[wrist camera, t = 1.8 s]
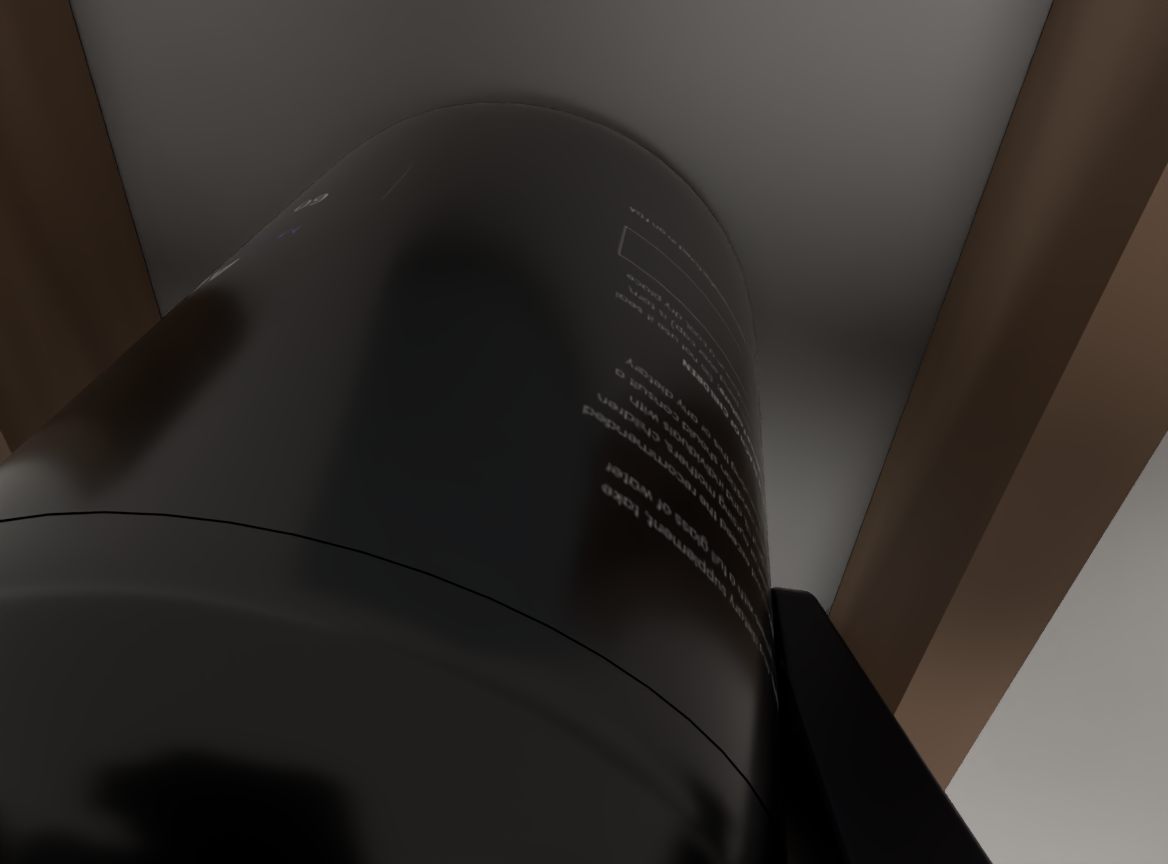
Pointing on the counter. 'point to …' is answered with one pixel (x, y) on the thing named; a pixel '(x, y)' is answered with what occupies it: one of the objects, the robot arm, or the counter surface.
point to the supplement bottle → (411, 534)
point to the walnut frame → (938, 397)
